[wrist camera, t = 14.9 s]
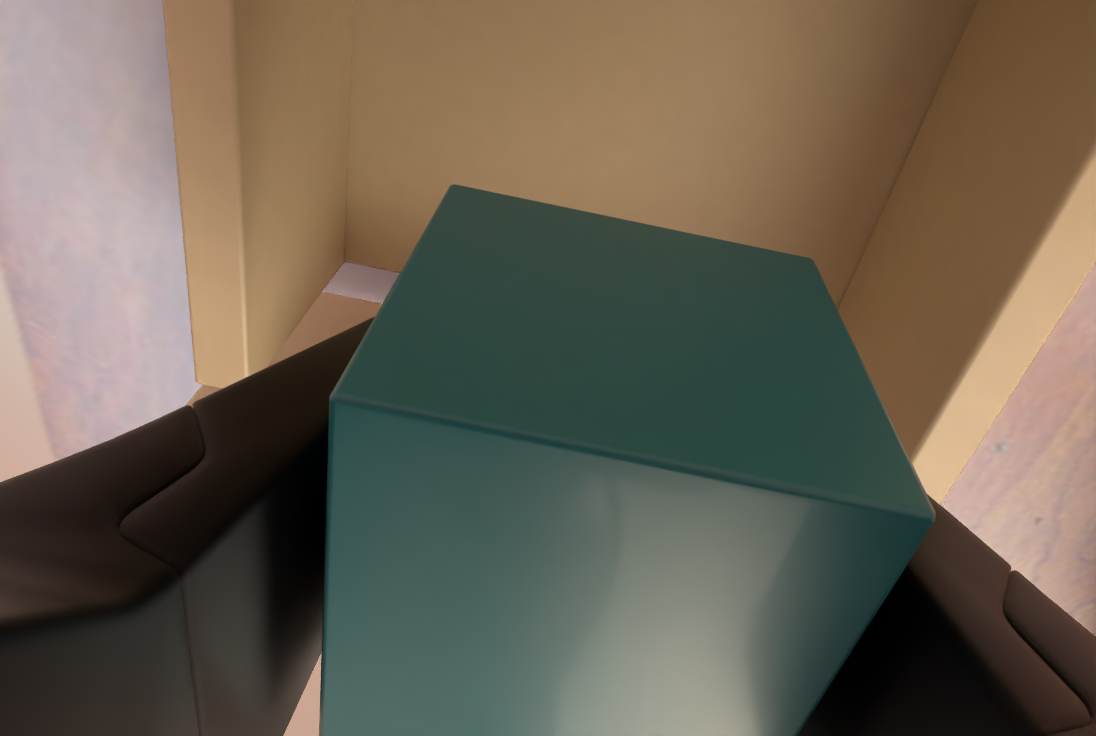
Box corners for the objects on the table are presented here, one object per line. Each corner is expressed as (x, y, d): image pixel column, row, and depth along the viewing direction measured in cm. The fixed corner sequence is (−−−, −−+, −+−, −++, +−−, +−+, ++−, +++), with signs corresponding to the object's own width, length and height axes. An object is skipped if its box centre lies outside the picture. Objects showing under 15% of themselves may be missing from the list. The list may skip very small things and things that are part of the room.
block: (706, 520, 10) (743, 826, 7) (417, 462, 10) (317, 745, 7) (815, 256, 8) (942, 516, 5) (449, 180, 8) (326, 395, 5)
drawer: (754, 589, 20) (794, 817, 16) (287, 497, 20) (176, 700, 15) (1274, -451, 10) (1958, -795, 5) (279, -691, 9) (-121, -1335, 4)
